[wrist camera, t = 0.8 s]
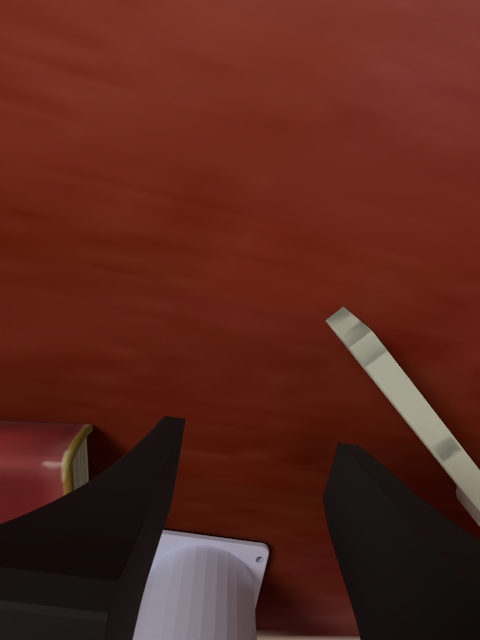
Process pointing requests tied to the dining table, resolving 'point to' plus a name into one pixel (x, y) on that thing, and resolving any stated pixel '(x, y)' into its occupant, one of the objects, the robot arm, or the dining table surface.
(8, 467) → the hardcover book
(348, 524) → the robot arm
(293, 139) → the dining table surface
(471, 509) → the gate frame
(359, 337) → the bar
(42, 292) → the dining table surface
